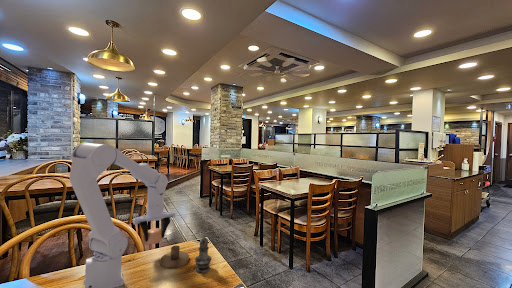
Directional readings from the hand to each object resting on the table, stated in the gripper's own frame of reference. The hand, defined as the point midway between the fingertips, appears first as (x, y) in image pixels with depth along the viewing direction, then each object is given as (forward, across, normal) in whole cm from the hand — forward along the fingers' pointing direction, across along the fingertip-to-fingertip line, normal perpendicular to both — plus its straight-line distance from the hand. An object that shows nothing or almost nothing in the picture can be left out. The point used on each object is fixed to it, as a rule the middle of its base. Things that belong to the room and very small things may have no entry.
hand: (154, 238), depth 85 cm
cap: (+1, 0, 0) cm, 1 cm away
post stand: (+7, +6, -8) cm, 12 cm away
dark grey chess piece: (+7, +12, -18) cm, 23 cm away
